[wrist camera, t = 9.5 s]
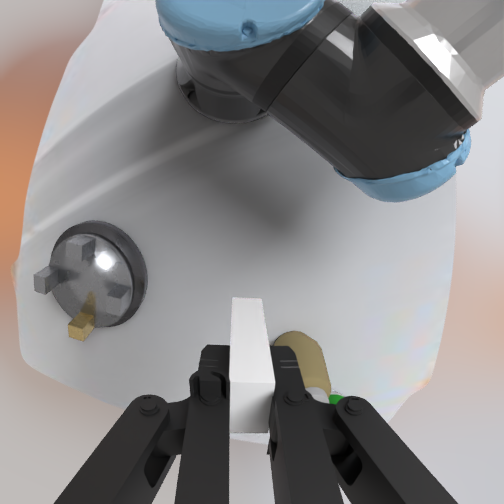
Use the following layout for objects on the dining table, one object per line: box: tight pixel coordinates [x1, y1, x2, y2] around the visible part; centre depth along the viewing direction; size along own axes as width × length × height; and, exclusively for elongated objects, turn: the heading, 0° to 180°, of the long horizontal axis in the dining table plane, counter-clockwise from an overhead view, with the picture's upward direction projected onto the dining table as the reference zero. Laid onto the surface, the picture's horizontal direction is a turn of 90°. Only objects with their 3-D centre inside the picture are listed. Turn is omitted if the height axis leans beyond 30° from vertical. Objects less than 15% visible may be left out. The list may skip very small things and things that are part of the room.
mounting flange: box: [51, 221, 147, 327], centre depth 40 cm, size 16×16×2 cm
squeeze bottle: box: [274, 331, 331, 403], centre depth 37 cm, size 8×8×18 cm
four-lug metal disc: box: [34, 232, 135, 341], centre depth 36 cm, size 14×14×6 cm
